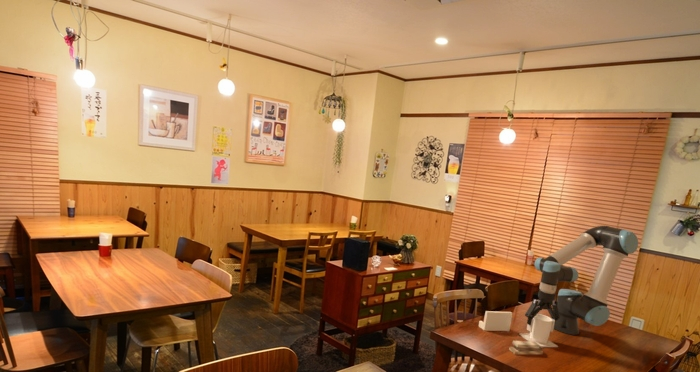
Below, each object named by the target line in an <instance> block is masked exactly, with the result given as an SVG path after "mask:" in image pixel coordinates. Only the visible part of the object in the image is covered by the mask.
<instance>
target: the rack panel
mask: <svg viewBox="0 0 700 372" xmlns="http://www.w3.org/2000/svg"><path fill="white" fill-rule="evenodd" d="M512 319H513V312H511V311H497V310H495V311H491V310H490V311H489V310H485V313H484V318H483V320H479V322H478V327H479V328H480V329H482V330H483V331H484V332H485V331H488V332H490V331H492V332H493V331H494V332H496V331H497V332H500V331H501V332H502V331H503V332H510V329H511V324H512Z"/></svg>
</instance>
